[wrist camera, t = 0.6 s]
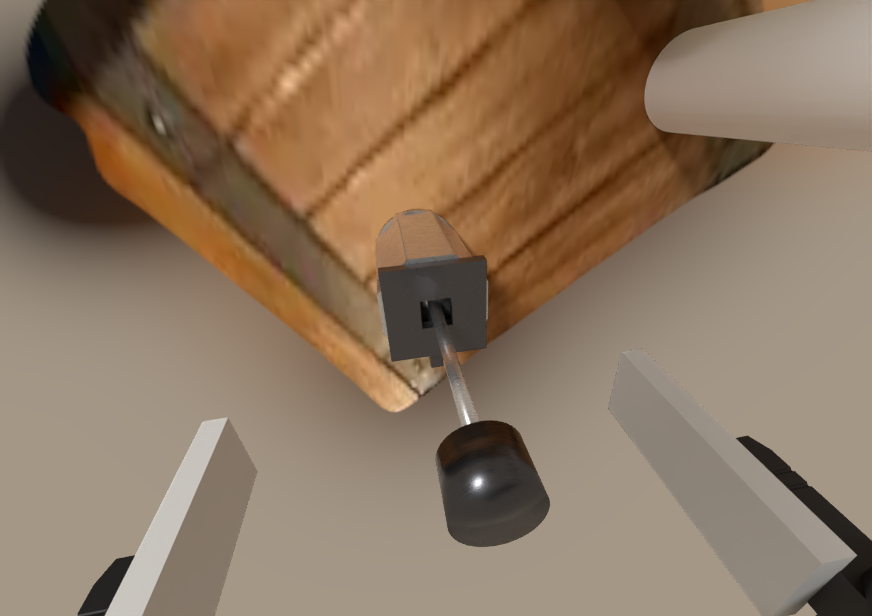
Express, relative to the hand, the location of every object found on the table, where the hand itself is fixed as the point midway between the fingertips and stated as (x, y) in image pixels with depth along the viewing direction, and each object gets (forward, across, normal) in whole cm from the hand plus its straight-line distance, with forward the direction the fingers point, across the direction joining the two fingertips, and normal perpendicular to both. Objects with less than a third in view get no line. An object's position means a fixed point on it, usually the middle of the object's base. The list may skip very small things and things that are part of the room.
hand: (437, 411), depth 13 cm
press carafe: (+31, +2, -8) cm, 33 cm away
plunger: (+19, +2, -7) cm, 21 cm away
